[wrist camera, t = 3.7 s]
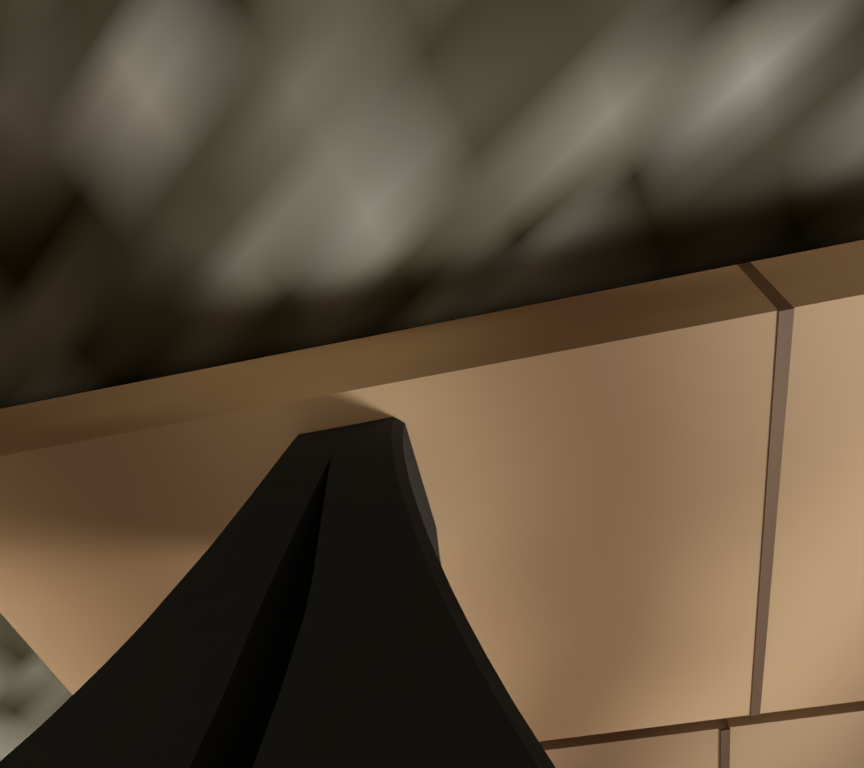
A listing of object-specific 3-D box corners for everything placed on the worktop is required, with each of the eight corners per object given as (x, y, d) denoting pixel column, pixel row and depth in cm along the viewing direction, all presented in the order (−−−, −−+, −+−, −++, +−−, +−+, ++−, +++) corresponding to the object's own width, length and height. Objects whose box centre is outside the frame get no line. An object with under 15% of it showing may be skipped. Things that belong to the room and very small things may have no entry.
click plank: (175, 728, 14) (155, 790, 13) (-62, 420, 10) (-119, 479, 9) (1016, 613, 12) (1070, 676, 11) (1190, 175, 8) (1302, 212, 7)
